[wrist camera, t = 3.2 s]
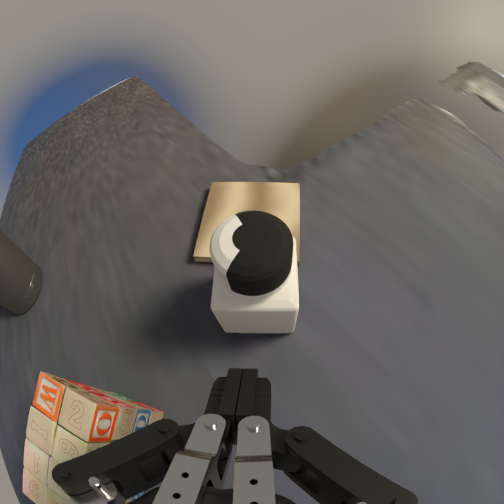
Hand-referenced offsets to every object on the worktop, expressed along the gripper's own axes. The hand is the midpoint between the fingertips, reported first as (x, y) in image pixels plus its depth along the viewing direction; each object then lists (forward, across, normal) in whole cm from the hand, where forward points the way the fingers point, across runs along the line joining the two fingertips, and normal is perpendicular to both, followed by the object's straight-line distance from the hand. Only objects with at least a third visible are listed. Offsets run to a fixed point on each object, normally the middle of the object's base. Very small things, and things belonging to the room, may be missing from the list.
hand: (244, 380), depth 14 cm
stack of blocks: (0, +14, +18) cm, 23 cm away
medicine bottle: (+16, 0, +2) cm, 16 cm away
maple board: (+23, +1, -5) cm, 24 cm away
